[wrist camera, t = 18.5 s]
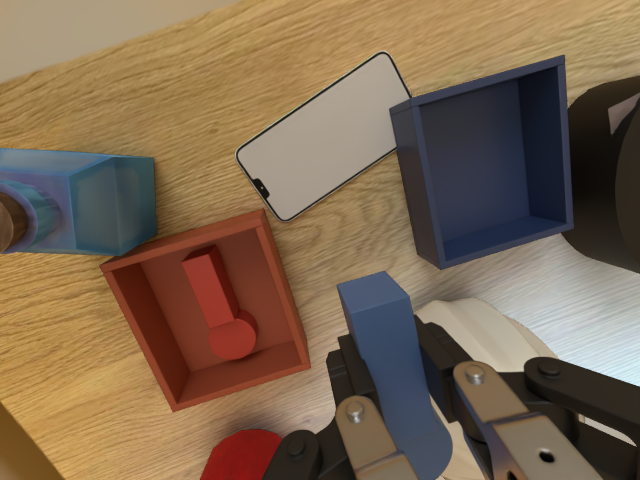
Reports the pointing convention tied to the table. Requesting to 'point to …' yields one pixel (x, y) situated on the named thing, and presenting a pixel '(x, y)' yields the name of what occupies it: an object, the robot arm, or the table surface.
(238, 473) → the apple
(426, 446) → the blue spoon
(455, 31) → the table surface
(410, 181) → the navy bin
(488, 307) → the vase
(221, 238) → the terracotta bin
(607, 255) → the black oval cylinder
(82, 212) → the perfume bottle
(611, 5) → the table surface
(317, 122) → the smartphone
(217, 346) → the red spoon
